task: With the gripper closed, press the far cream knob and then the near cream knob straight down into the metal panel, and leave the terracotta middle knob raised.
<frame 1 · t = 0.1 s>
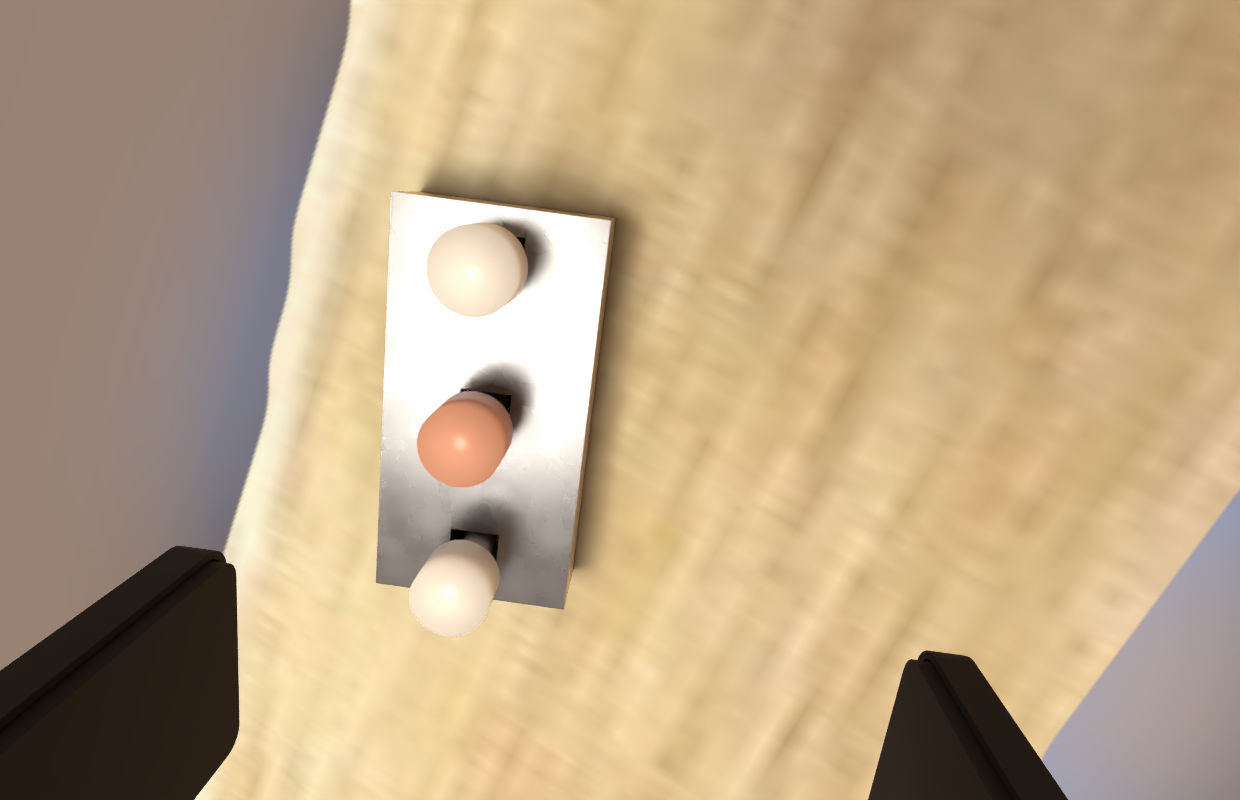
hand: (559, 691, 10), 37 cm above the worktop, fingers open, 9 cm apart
knob panel: (501, 393, 47), on the worktop
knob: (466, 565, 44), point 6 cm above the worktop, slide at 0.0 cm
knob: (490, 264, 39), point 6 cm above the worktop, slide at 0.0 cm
middle knob: (477, 424, 41), point 6 cm above the worktop, slide at 0.0 cm
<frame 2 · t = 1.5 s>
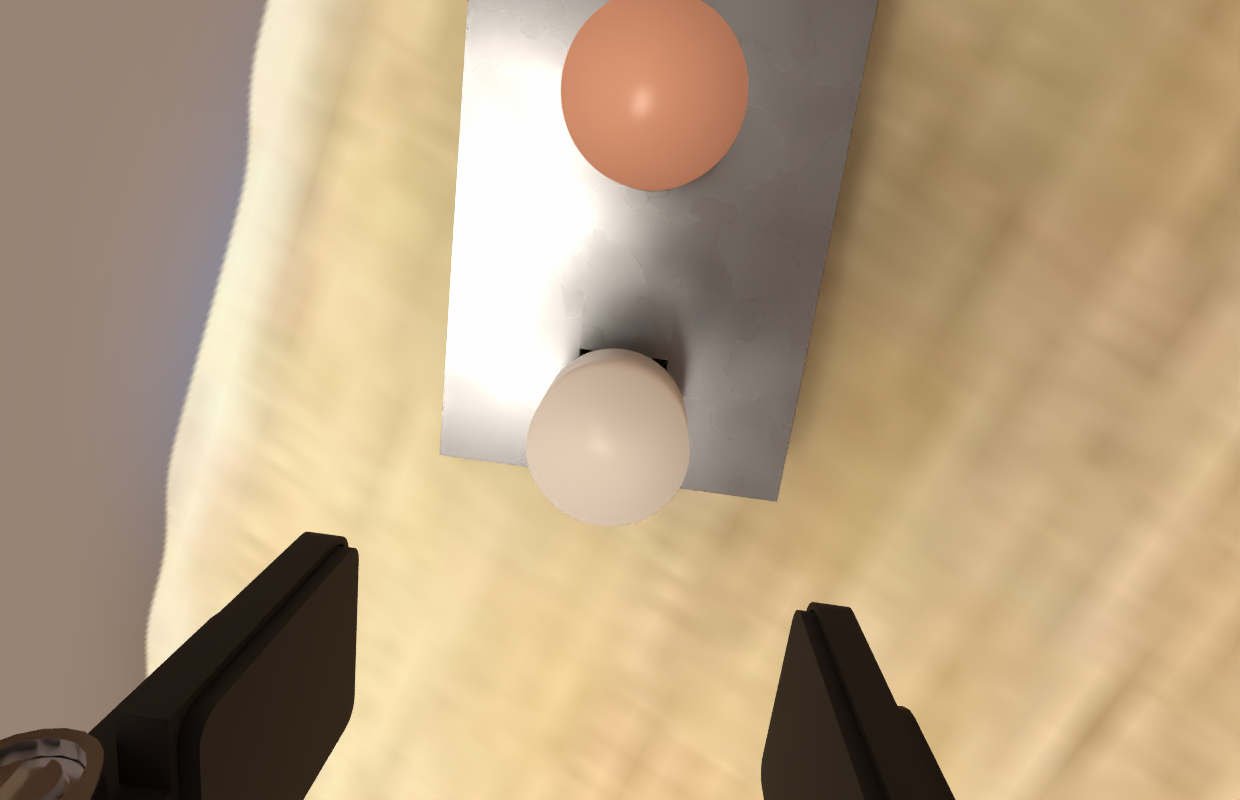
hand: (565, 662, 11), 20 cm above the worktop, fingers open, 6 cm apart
knob panel: (655, 131, 27), on the worktop
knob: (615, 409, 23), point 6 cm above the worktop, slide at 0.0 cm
middle knob: (654, 111, 21), point 6 cm above the worktop, slide at 0.0 cm
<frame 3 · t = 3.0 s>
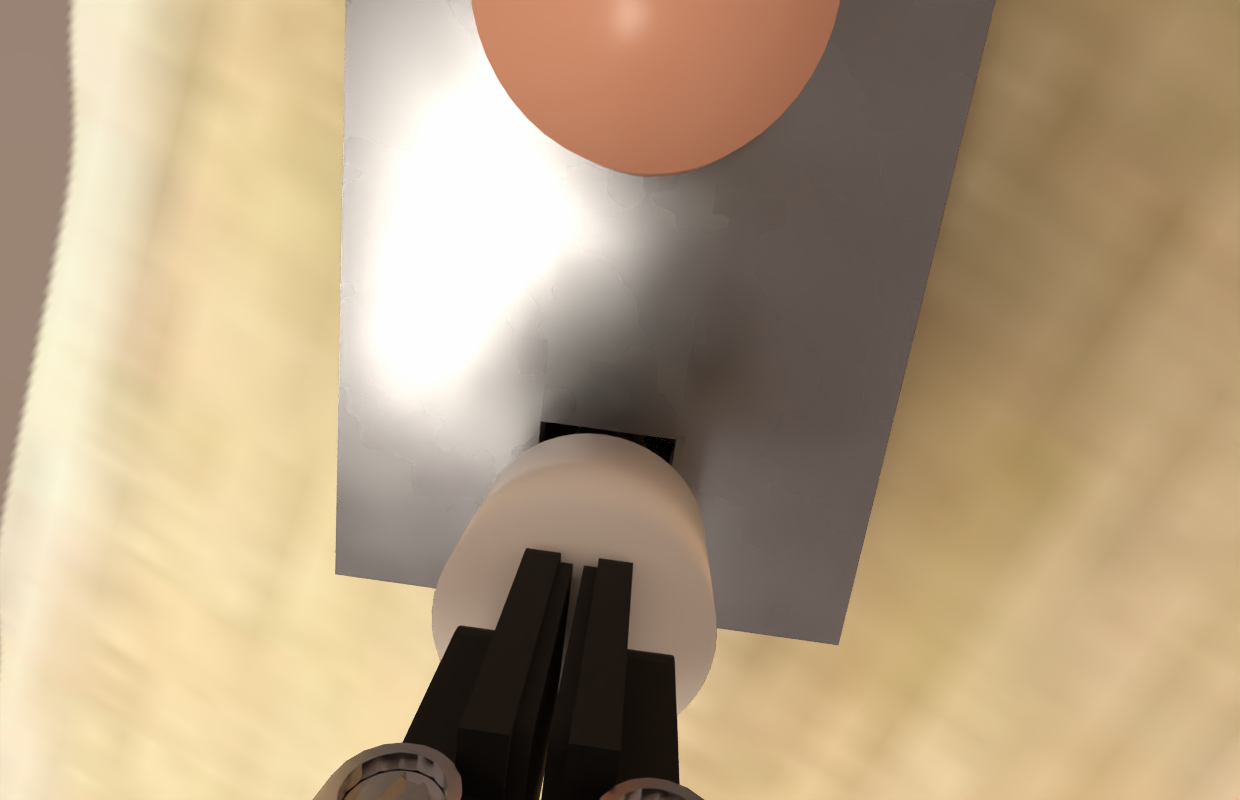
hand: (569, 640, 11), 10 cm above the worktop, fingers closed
knob panel: (657, 93, 19), on the worktop
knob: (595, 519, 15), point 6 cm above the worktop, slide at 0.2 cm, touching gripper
middle knob: (655, 43, 12), point 6 cm above the worktop, slide at 0.0 cm
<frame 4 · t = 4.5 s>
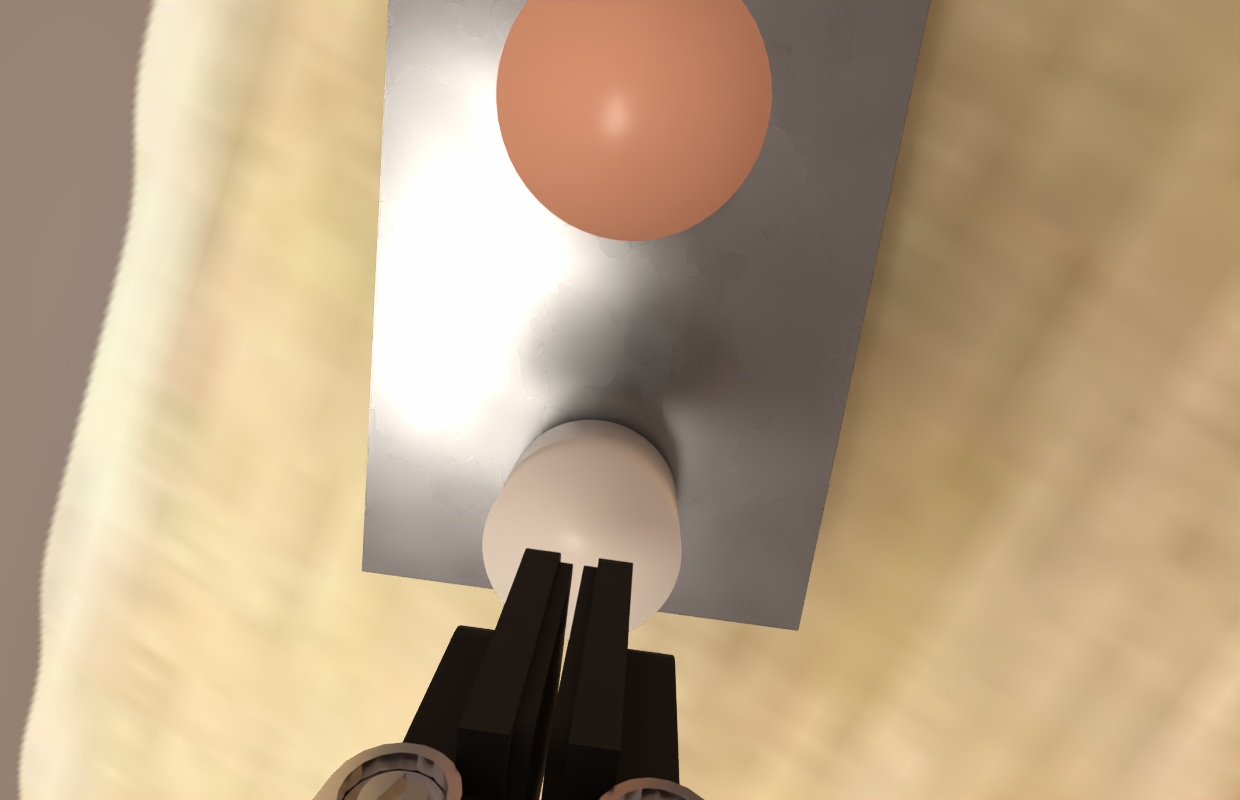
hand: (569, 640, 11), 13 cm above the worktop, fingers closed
knob panel: (640, 158, 22), on the worktop
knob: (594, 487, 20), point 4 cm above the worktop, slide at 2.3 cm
middle knob: (637, 131, 15), point 6 cm above the worktop, slide at 0.0 cm
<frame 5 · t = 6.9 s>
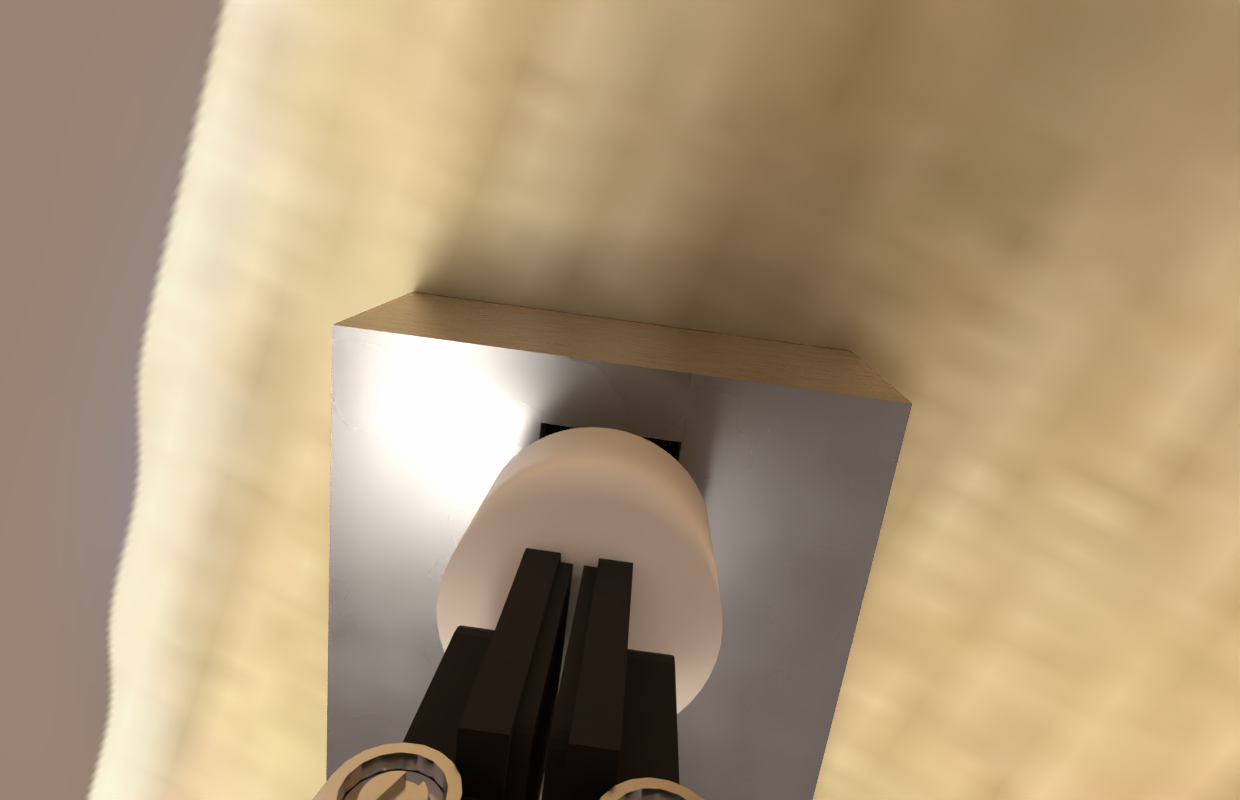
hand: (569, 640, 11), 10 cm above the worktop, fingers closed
knob panel: (581, 691, 23), on the worktop
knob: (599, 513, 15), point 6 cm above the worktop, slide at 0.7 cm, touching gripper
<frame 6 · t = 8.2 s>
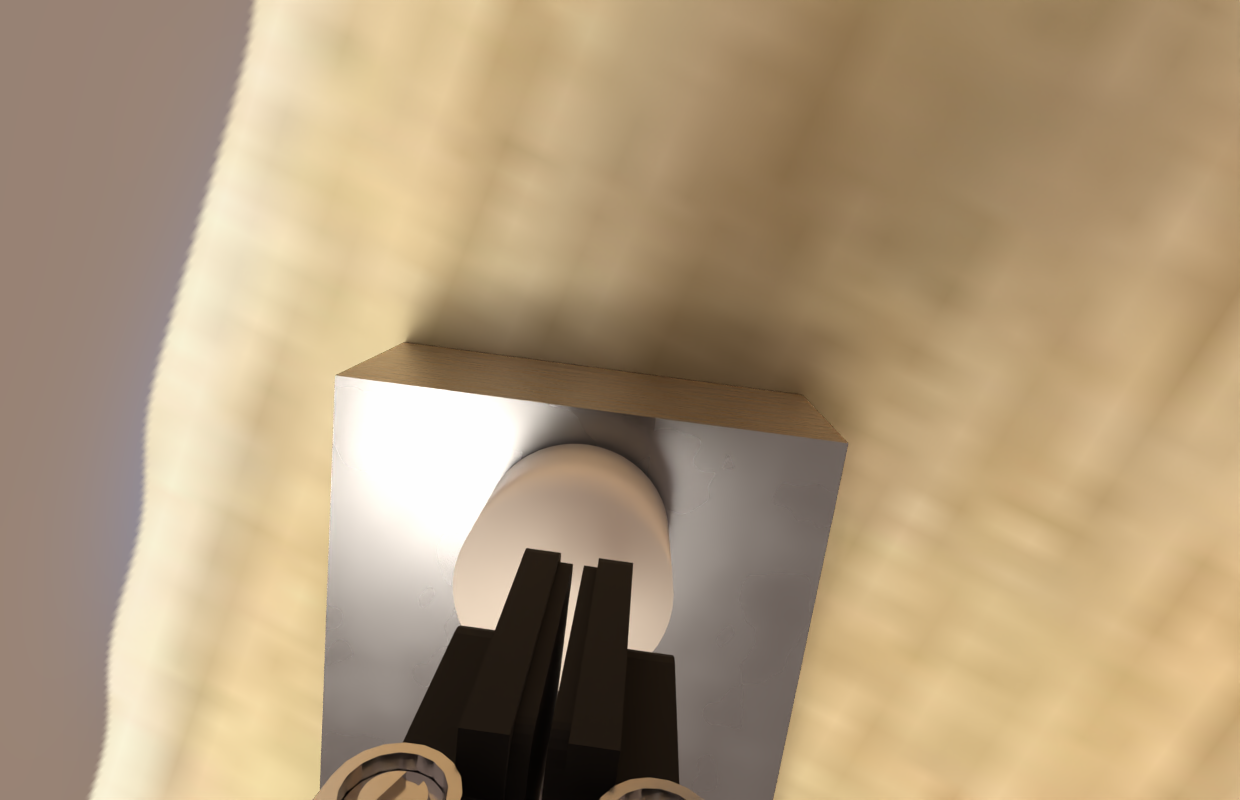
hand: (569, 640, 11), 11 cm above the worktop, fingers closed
knob panel: (559, 714, 24), on the worktop
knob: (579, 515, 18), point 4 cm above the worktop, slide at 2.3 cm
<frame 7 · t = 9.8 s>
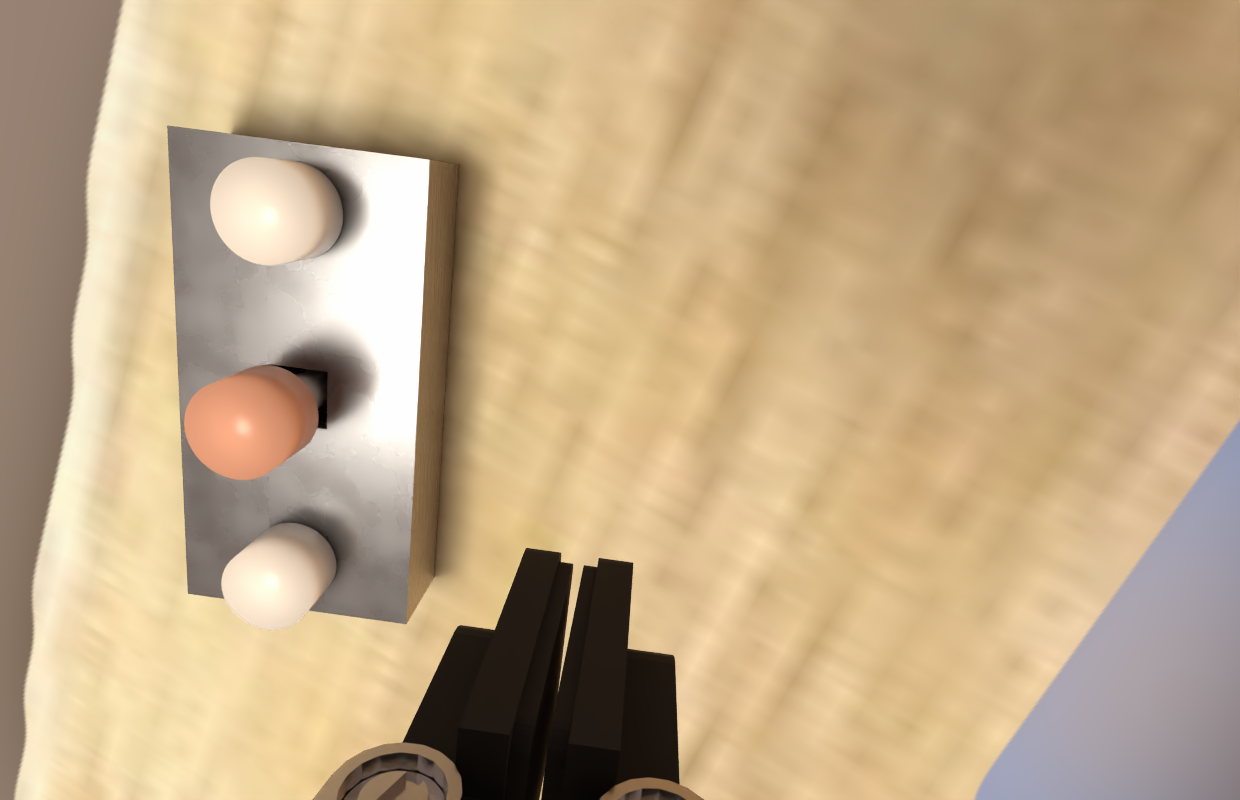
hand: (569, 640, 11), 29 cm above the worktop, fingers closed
knob panel: (340, 373, 41), on the worktop
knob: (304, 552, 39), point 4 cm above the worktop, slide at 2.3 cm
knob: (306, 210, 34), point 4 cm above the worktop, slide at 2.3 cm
middle knob: (282, 405, 35), point 6 cm above the worktop, slide at 0.0 cm
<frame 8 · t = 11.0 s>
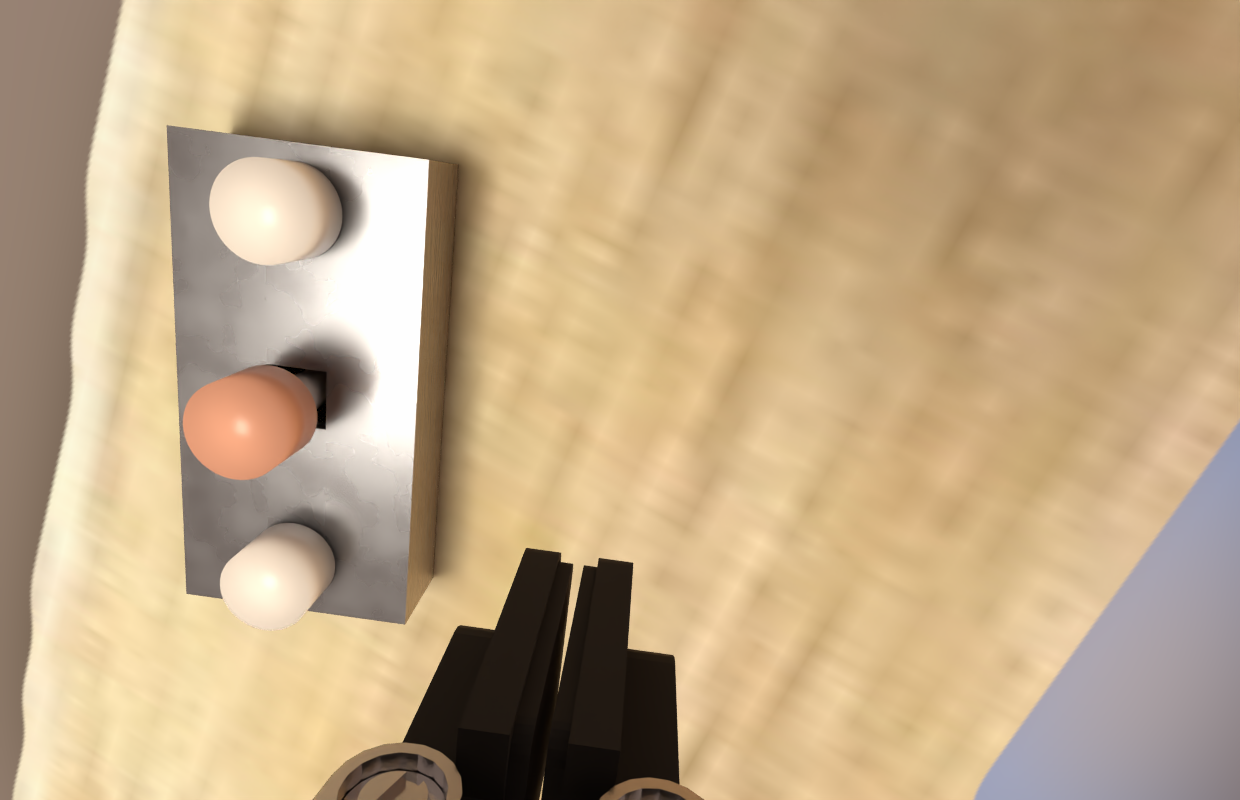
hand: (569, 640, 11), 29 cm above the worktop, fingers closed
knob panel: (339, 373, 41), on the worktop
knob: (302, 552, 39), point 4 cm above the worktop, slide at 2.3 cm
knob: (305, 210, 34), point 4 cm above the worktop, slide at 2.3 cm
middle knob: (281, 405, 34), point 6 cm above the worktop, slide at 0.0 cm
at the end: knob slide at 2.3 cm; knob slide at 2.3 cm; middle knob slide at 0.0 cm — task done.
